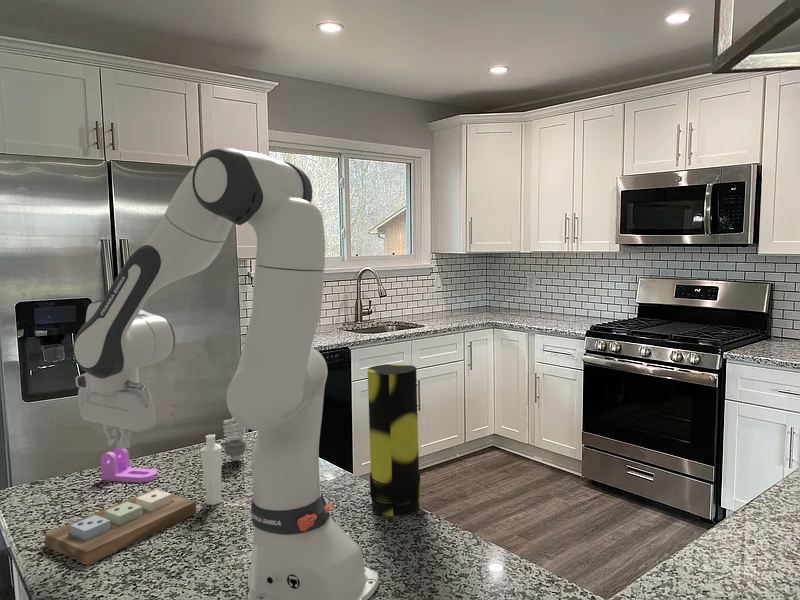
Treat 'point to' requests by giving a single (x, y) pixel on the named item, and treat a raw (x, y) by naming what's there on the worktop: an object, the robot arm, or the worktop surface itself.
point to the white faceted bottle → (212, 470)
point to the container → (393, 439)
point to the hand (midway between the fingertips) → (119, 446)
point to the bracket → (123, 468)
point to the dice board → (119, 531)
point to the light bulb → (234, 439)
